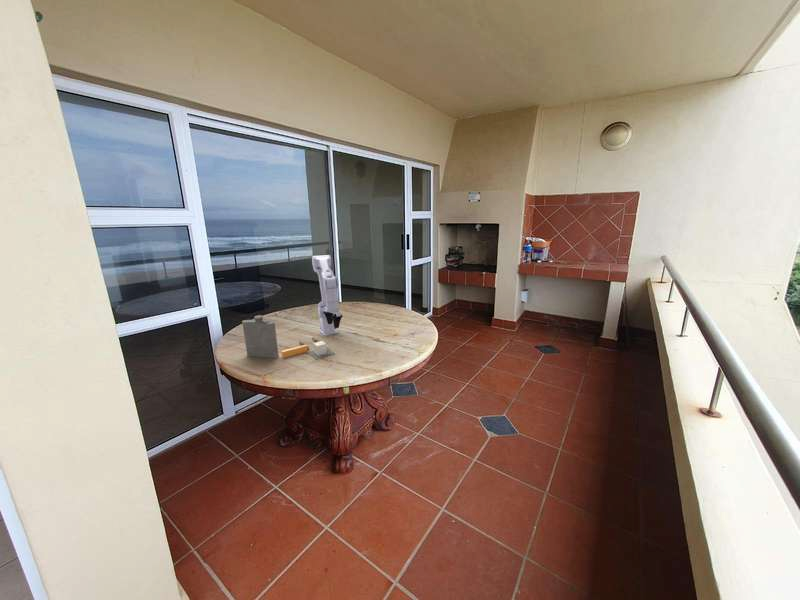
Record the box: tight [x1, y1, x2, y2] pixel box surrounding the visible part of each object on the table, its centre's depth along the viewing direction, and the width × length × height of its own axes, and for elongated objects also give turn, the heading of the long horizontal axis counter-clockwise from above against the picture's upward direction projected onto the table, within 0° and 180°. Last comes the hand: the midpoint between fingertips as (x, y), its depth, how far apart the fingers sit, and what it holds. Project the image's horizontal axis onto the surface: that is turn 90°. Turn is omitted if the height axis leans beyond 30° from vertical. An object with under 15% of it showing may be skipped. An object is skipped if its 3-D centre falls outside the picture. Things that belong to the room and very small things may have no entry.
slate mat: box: [307, 346, 336, 361], centre depth 156 cm, size 10×10×1 cm
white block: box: [312, 340, 327, 356], centre depth 155 cm, size 4×4×5 cm
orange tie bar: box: [281, 345, 309, 359], centre depth 155 cm, size 2×12×3 cm, turn 127°
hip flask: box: [241, 314, 279, 359], centre depth 151 cm, size 16×4×20 cm, turn 80°
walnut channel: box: [298, 336, 321, 350], centre depth 166 cm, size 10×8×2 cm
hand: (333, 325), depth 166 cm, fingers open, 7 cm apart
